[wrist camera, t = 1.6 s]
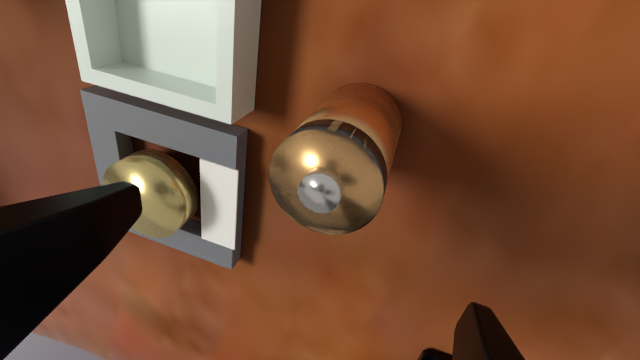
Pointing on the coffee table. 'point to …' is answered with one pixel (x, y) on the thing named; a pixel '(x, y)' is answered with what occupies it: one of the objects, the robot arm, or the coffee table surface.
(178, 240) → the grey square tray
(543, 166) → the coffee table surface
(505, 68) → the coffee table surface
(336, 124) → the copper cell
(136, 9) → the trough
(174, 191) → the brass plunger
